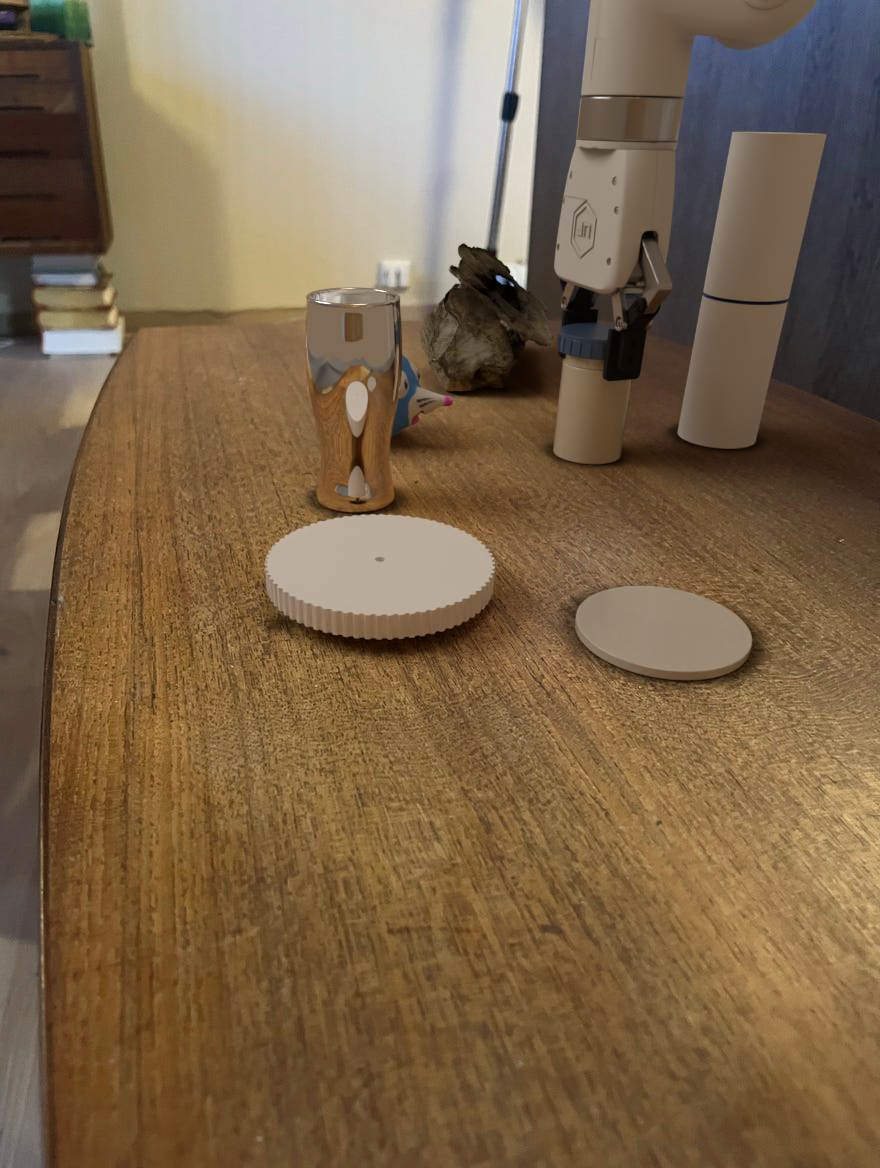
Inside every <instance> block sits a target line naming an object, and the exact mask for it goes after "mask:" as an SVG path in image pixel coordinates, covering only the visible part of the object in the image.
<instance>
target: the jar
mask: <svg viewBox="0 0 880 1168" xmlns="http://www.w3.org/2000/svg"><path fill="white" fill-rule="evenodd" d="M604 361H605V360H593V359H584V358H578V357H574V356H570V355H567V354H566V357H565V358H564V359H563V358H562V363H561V372H560V381H559V390H558V399H557V408H556V409H557V410H556V417H555V426H554V435H553V436H554V437H553V443H552V444H553V445H552V451H553V454H554V455H555V456H557V457H558V458H560V459H562V460H565V461H568V462H572V463H576V464H583V465H603V464H604V465H605V464H610V463H613V462H616V461H618V460H619V459H620V458H621V456H622V451H623V450H622V449H623V442H624V436H625V429H626V423H627V418H628V417H627V416H628V410H629V402H630V396H631V390H632V384H633V379H632V380H619V381H607V380H605V379H604V378H603V369H604Z"/></svg>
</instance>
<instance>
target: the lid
mask: <svg viewBox="0 0 880 1168" xmlns="http://www.w3.org/2000/svg"><path fill="white" fill-rule="evenodd" d="M609 329H615V325H614V323H608V322H597V323H574V324H568V325H565V326H562V327H561V326H560V327H559V331H558V332H559V333H557V342H556V348H557V351H558V352H559V351H560V352H562V353H564V354H567V355H570V356H574V357H578V358H584V359H593V360H605V354H606V346H607V339H608V331H609Z"/></svg>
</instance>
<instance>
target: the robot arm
mask: <svg viewBox="0 0 880 1168" xmlns="http://www.w3.org/2000/svg"><path fill="white" fill-rule="evenodd" d="M818 1H819V0H590V1H589V2H590V4H589V12H588V22H587V32H586V41H585V51H584V52H585V53H584V62H583V71H582V79H581V80H582V81H581V90H580V91H581V93H580V96H581V97H580V100H579V101H580V102H579V111H578V119H577V128H576V140H575V146H574V148H573V149H574V150H573V153H572V157H571V160H570V164H569V167H568V173H567V177H566V181H565V187H564V191H563V197H562V203H561V209H560V216H559V223H558V230H557V236H556V243H555V244H556V246H555V253H554V262H553V263H554V265H553V269H554V272H555V274H556V275H557V277H558V278H559V284H560V287H561V290H562V291H561V292H562V295H561V298H560V307H561V309H562V315H561V316H562V317H561V325H560V328H561V327H562V326H565V325H568V324H574V323H598V318H599V311H600V310H599V309H597V308H594V307H595V305H596V302H597V301H598V297H599V295H600V294H601V295H609V294H610V296H611V307H612V315H613V324H614V325H615V329H609V331H608V339H607V346H606V354H605V361H604V369H603V378H604V379H605V380H607V381H619V380H632V381H633V380H637V379H639V378H640V376H641V371H642V367H643V360H644V359H643V358H644V352H645V346H646V339H647V333H648V331H649V330H650V329H652V327H653V324H654V318H655V317H656V316H657V315H658V314H659V312H660V310H661V307H662V305H663V304H664V302H665V300H666V299H667V298H668V297H669V295H670V294H671V292H672V290H673V287H674V286H673V281H672V278H671V275H670V273H669V270H668V268H667V264H666V263H667V260H668V259H667V258H668V251H669V245H670V239H671V230H672V220H673V211H674V200H675V198H674V197H675V186H676V185H675V184H676V150H677V149H678V144H679V138H680V130H681V124H682V117H683V111H684V106H685V97H686V90H687V85H688V78H689V71H690V65H691V59H692V52H693V47H694V41H695V38H696V37H697V36H703V37H710V38H711V37H712V39H714V41H715V42H717V43H718V44H719V45H722V46H723V47H725V48H727V49H731V50H735V51H749V50H753V49H758V48H760V47H763V46H765V45H768V44H769V43H771V42H773V41H775V40H778V39H779V38H781V37H783V36H784V35H787V34H788V33H789V32H791V31H792V30H793V29H794V28H796V27H797V26H798V25H800V24H801V23H802V22H803V21H804V19H806V17H807V16H808V15H809V14H810V13H811V11H812V10H813V9H814V7H815V6H816V4H817V2H818ZM628 299H635V300H634V301H633V302H632V303H631V305H630V306H629V307H627V306H628V305H627V300H628ZM558 357H559V358H561V359H562V360H563V359H564V358H565V357H566V354H564V353H562V352H560V351H559V350H558Z"/></svg>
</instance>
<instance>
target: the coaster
mask: <svg viewBox="0 0 880 1168" xmlns="http://www.w3.org/2000/svg"><path fill="white" fill-rule="evenodd" d="M574 629H575V632H576V635H577V637H578V638H579V640H580V642H581V643H582V644H583V645H584V646H585V647H586V648H587V649H588V651H590V652H591V653H593V654H595V656H597V657H598V658H600V659H602V660H603V661H605V662H607V663H608V664H612V665H613V666H615V667H617V668H619V669H623V670H625V671H628V672H632V673H635V674H638V675H641V676H645V677H650V678H654V679H655V678H656V679H663V680H669V681H670V680H671V681H701V680H709V679H714V678H719V677H722V676H725V675H728V674H731V673H732V672H734V671H737V670H738V669H739V668H741V667H742V666H743V665H744V663H746V661H747V660H748V659H749V656H750V654H751V650H752V646H753V636H752V632H751V631H750V628H749V627H748V625H747V624H746V622H744V621H743V619H742V618H741V617H740V616H739V615H737V614H736V613H735V612H733V611H732V610H730V609H729V608H728V607H726V606H724V605H722V604H721V603H718V602H717V601H714V600H712V599H710V598H708V597H704V596H702V595H700V594H696V593H693V592H689V591H685V590H682V589H677V588H672V587H666V586H665V587H664V586H657V585H625V586H617V587H612V588H607V589H604V590H601V591H598V592H595V593H594V594H592V595H589V596H588V597H587V598H585V599H584V600H583V601H582V602H581V603H580V604H579V606H578V608H577V610H576V612H575V619H574Z"/></svg>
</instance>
